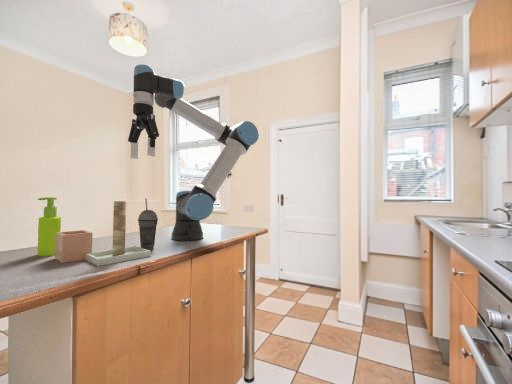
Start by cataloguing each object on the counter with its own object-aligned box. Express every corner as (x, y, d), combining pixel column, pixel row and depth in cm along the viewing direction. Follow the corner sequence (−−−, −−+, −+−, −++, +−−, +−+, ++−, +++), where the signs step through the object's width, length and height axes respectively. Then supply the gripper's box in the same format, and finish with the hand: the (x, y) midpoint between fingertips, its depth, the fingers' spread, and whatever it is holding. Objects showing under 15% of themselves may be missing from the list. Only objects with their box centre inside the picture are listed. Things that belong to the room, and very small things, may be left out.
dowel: (121, 254, 85) (123, 201, 85) (126, 256, 82) (128, 201, 83) (110, 256, 82) (111, 201, 82) (115, 258, 80) (116, 201, 80)
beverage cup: (149, 252, 94) (151, 198, 94) (132, 250, 95) (134, 198, 95) (161, 248, 101) (162, 198, 101) (144, 247, 102) (146, 198, 103)
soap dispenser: (29, 259, 81) (31, 197, 81) (47, 254, 88) (49, 197, 88) (47, 259, 81) (49, 197, 81) (64, 254, 88) (65, 197, 88)
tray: (135, 253, 92) (135, 245, 92) (150, 258, 85) (150, 250, 85) (84, 261, 79) (84, 253, 79) (97, 268, 72) (97, 259, 72)
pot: (83, 256, 85) (84, 230, 86) (91, 260, 81) (92, 232, 81) (54, 260, 79) (55, 232, 79) (61, 265, 74) (62, 235, 75)
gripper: (120, 108, 107) (118, 158, 107) (150, 95, 92) (149, 153, 91) (137, 113, 113) (136, 160, 113) (169, 101, 97) (168, 155, 97)
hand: (142, 157), depth 102 cm, fingers open, 13 cm apart
